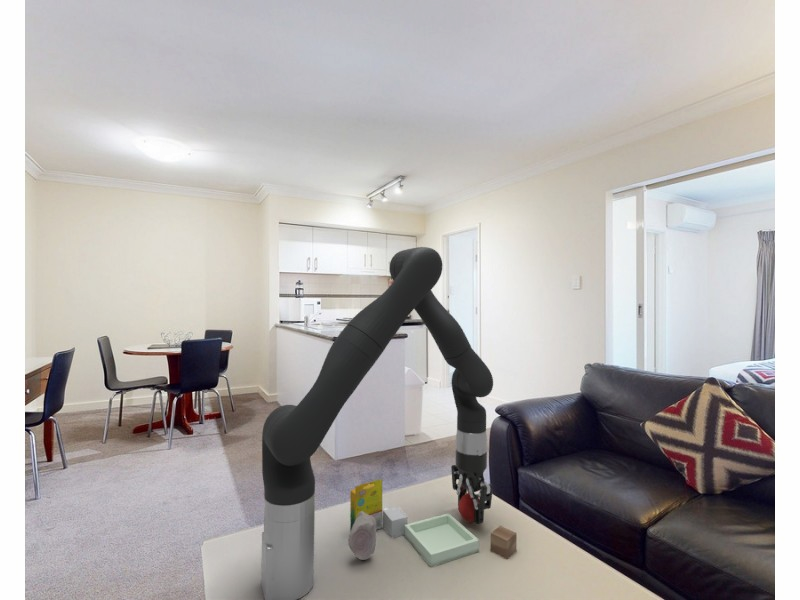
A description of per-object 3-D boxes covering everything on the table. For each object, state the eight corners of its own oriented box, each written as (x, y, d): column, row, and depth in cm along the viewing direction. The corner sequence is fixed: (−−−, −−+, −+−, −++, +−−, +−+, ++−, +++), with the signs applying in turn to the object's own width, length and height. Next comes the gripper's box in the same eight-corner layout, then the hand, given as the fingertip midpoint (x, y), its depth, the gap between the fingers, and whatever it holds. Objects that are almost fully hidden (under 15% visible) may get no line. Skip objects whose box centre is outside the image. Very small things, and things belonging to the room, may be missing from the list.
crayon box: (376, 522, 97) (377, 474, 97) (383, 528, 95) (383, 478, 95) (349, 531, 93) (350, 481, 93) (355, 537, 91) (355, 486, 91)
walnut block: (507, 559, 84) (507, 540, 84) (490, 551, 86) (490, 532, 86) (516, 551, 87) (516, 532, 87) (499, 543, 89) (500, 525, 89)
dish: (431, 567, 81) (431, 554, 81) (404, 535, 92) (404, 524, 92) (479, 551, 86) (479, 540, 86) (448, 523, 97) (448, 513, 97)
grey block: (391, 538, 91) (391, 520, 91) (382, 527, 95) (383, 510, 95) (407, 534, 93) (407, 516, 93) (397, 523, 97) (398, 506, 97)
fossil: (348, 568, 80) (349, 518, 80) (346, 557, 84) (347, 509, 84) (377, 563, 82) (377, 514, 82) (373, 553, 85) (374, 506, 85)
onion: (481, 517, 100) (481, 485, 100) (483, 530, 94) (484, 496, 94) (457, 515, 100) (458, 484, 100) (458, 528, 95) (459, 495, 95)
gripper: (442, 440, 102) (441, 506, 102) (476, 461, 89) (475, 536, 89) (466, 436, 105) (465, 500, 105) (503, 455, 93) (502, 528, 93)
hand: (470, 516), depth 97 cm, fingers closed on onion, 6 cm apart
